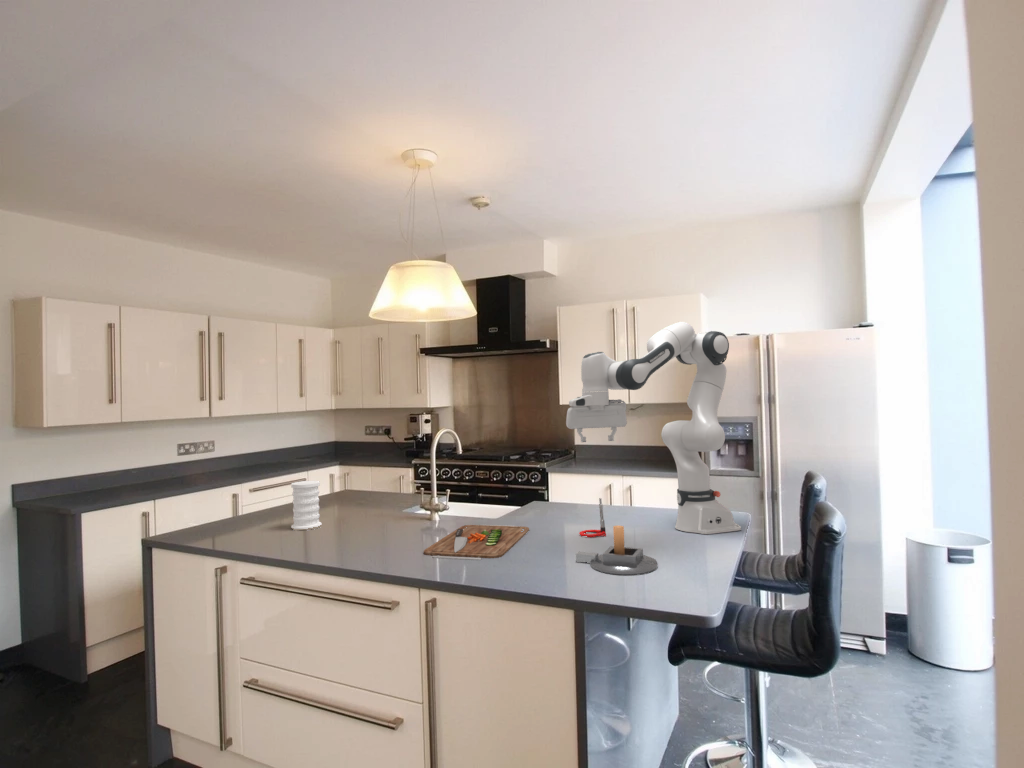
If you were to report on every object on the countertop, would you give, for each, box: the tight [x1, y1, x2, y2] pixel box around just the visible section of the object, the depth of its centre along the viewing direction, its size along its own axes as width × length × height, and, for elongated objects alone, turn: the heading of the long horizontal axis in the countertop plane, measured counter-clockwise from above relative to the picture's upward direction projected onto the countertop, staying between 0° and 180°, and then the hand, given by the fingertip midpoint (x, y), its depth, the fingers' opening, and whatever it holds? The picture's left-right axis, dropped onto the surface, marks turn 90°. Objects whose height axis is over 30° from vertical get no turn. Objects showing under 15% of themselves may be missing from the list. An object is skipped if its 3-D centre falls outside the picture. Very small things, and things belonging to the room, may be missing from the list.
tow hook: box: [578, 497, 607, 538], centre depth 206 cm, size 8×13×9 cm
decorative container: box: [290, 480, 323, 529], centre depth 233 cm, size 12×12×18 cm
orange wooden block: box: [612, 525, 625, 555], centre depth 168 cm, size 3×3×10 cm
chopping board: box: [423, 524, 530, 561], centre depth 202 cm, size 45×27×3 cm, turn 164°
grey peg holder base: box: [575, 545, 658, 576], centre depth 169 cm, size 19×24×4 cm
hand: (597, 441), depth 194 cm, fingers open, 8 cm apart
